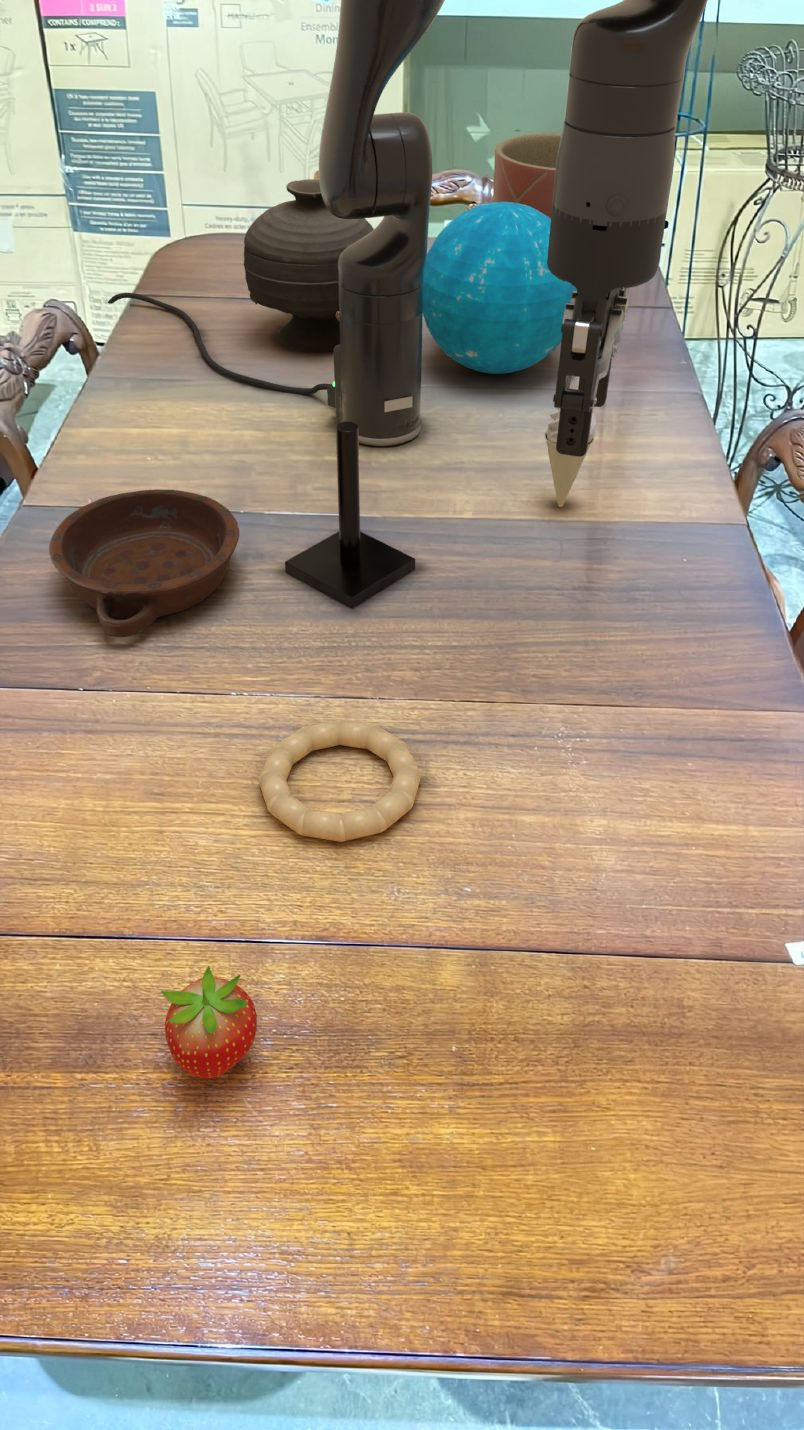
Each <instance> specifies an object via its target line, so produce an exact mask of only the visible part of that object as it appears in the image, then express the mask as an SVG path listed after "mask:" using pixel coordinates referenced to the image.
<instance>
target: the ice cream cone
mask: <svg viewBox="0 0 804 1430" xmlns="http://www.w3.org/2000/svg"><path fill="white" fill-rule="evenodd" d="M579 378H580V377H577V376H574V379H573V381H572V382H571V383H570V387H569V389H576V390H578V386H579ZM556 409H557V410H555V411H553V412H551V413H549V417H550V418H551V419H552V421H549V423H548V424H547V428H548V429H546V431H545V432H544V434H543V435H544V436H543V437H544V439H545V441H546V446H547V452H548V459H549V464H550V470H551V475H552V480H553V485H554V491H555V497H556V503H557V506H558V507H559V508H563V507H564V505H565V503H566V500H567V498H568V495H569V493H570V491H571V489H572V487H573V486H574V485H573V484H574V482H575V481H576V478H577V476H578V474H579V471H580V469H581V467H582V464H583V462H584V460H585V458H586V456H587V453H588V451H589V450H590V447H591V445H592V444H593V442H594V440H595V436H596V428H597V423H596V422H597V421H596V414H595V413H594V411H593V412H592V419H591V427H590V434H589V442H588V448H587V451H586V453H585V455H584V456H581V457H577V456H571V455H564V454H560V453H558V452H557V450H556V444H557V434H558V425H559V416H560V408H556Z"/></svg>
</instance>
